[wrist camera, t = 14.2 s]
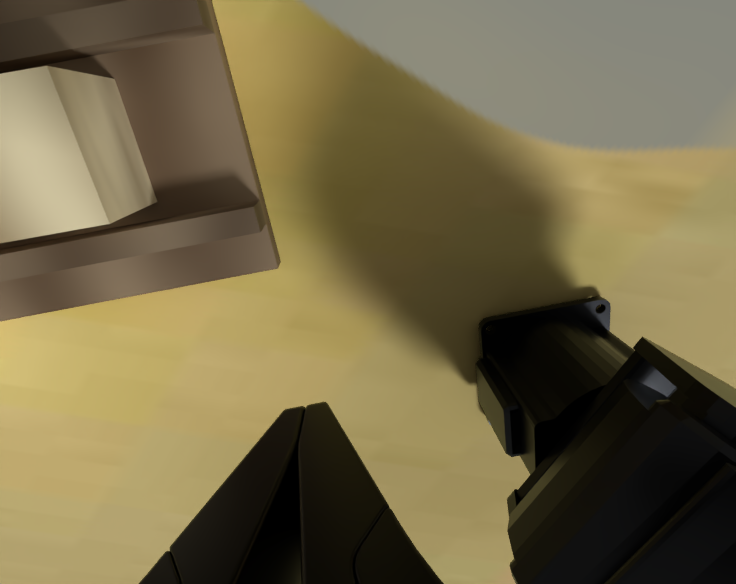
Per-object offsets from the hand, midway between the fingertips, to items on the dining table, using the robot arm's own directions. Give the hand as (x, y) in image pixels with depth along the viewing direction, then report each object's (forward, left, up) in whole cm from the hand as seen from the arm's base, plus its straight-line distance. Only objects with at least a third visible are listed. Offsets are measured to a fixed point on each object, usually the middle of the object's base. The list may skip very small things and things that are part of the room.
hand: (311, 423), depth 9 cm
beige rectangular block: (+11, -6, -11) cm, 16 cm away
